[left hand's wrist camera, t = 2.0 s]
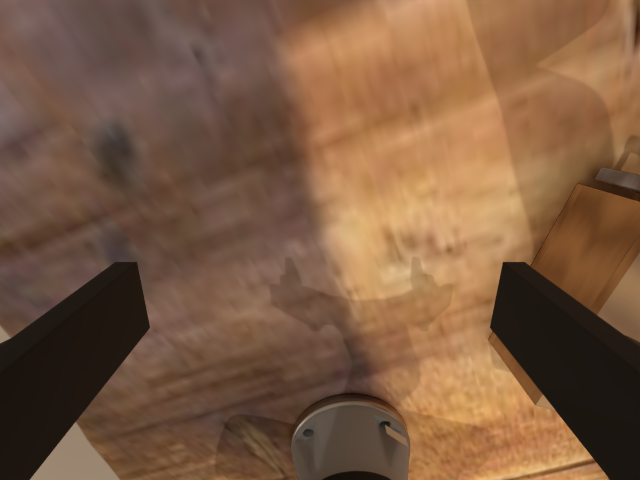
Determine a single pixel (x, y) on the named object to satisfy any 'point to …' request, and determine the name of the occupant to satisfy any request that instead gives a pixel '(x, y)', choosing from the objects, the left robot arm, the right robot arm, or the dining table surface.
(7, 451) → the left robot arm
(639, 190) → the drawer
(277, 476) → the dining table surface
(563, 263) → the brown rectangular block
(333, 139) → the dining table surface
